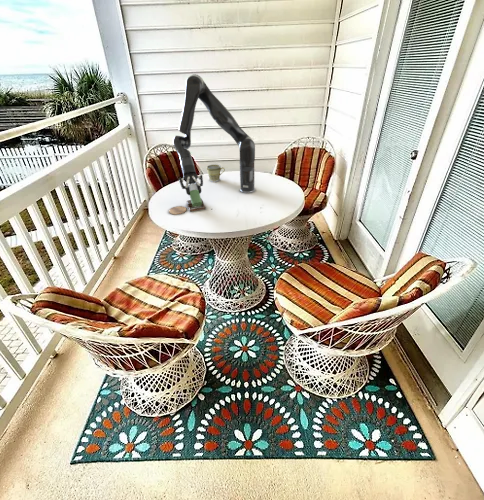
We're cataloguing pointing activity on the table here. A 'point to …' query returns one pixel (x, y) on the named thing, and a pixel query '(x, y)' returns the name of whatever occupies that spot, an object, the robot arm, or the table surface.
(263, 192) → the table surface
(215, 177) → the ceramic cup
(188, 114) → the robot arm
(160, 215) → the table surface
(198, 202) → the green can
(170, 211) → the cork coaster
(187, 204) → the walnut rest
